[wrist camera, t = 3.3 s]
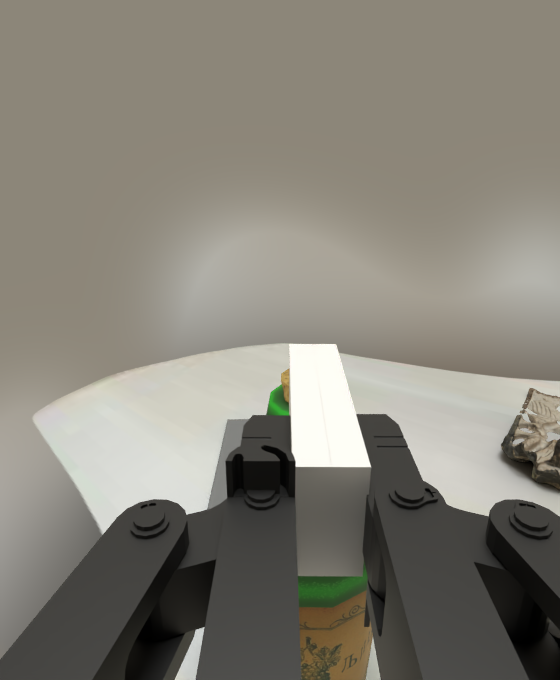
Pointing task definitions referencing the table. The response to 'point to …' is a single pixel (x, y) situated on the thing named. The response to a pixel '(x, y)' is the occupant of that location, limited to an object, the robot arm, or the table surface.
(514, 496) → the table surface
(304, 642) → the bottle
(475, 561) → the robot arm
